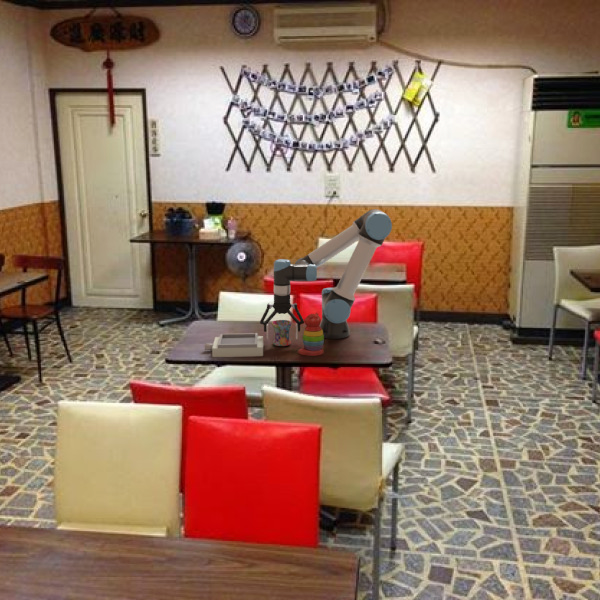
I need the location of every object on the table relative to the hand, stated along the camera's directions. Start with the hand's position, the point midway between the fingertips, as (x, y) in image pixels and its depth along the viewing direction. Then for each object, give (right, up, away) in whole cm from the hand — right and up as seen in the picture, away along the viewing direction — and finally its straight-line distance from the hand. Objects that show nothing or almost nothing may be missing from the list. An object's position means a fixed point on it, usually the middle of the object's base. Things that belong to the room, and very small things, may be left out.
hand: (282, 338), depth 309 cm
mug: (0, -3, +1) cm, 3 cm away
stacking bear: (+14, -6, -12) cm, 19 cm away
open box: (-21, -5, -9) cm, 24 cm away
